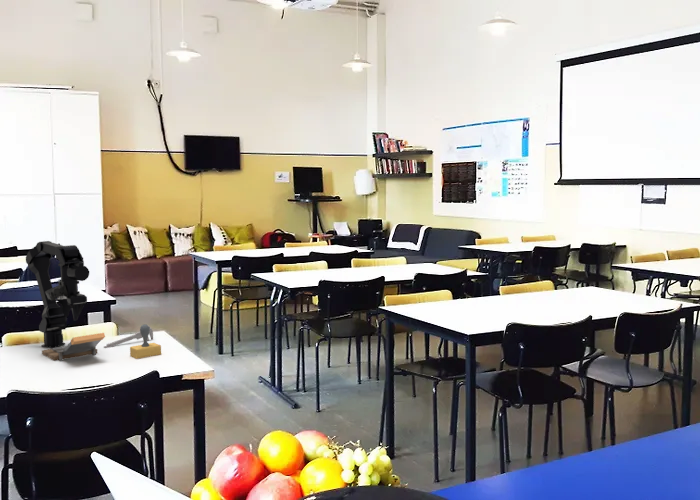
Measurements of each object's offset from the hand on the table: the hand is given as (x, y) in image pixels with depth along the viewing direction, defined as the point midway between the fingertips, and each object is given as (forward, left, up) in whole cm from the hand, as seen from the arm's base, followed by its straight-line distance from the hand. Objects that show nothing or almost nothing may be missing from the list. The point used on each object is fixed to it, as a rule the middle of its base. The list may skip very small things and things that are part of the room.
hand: (70, 318), depth 263 cm
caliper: (+13, +18, -14) cm, 26 cm away
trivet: (+2, -3, -13) cm, 13 cm away
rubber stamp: (+30, +4, -13) cm, 33 cm away
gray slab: (+8, -6, -10) cm, 14 cm away
